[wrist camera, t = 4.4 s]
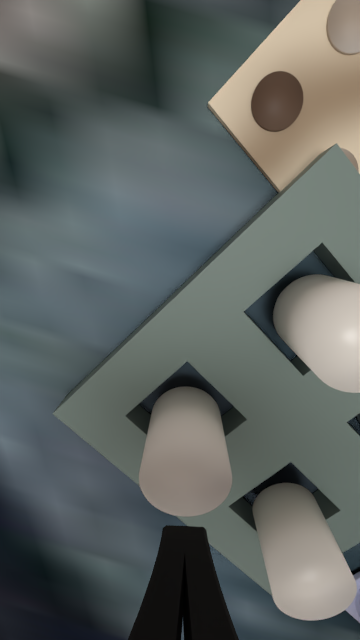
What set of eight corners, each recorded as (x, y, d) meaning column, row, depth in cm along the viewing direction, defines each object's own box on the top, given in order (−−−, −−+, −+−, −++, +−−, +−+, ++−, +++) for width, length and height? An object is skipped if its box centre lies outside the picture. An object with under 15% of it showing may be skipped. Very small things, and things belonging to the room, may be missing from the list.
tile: (470, 108, 14) (482, 102, 13) (318, 242, 16) (324, 242, 15) (361, -65, 12) (370, -80, 12) (207, 106, 14) (208, 100, 14)
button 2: (235, 419, 17) (251, 482, 12) (184, 458, 17) (184, 530, 13) (186, 372, 16) (186, 422, 12) (137, 416, 17) (119, 477, 12)
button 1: (329, 510, 18) (373, 594, 14) (279, 542, 19) (306, 631, 15) (289, 471, 18) (323, 547, 13) (239, 506, 18) (255, 589, 14)
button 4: (367, 314, 15) (442, 345, 10) (304, 364, 16) (350, 411, 11) (320, 257, 14) (379, 264, 10) (257, 312, 15) (285, 341, 11)
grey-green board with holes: (511, 408, 18) (549, 428, 16) (264, 564, 22) (271, 595, 20) (317, 155, 15) (336, 143, 13) (66, 396, 19) (52, 413, 17)
